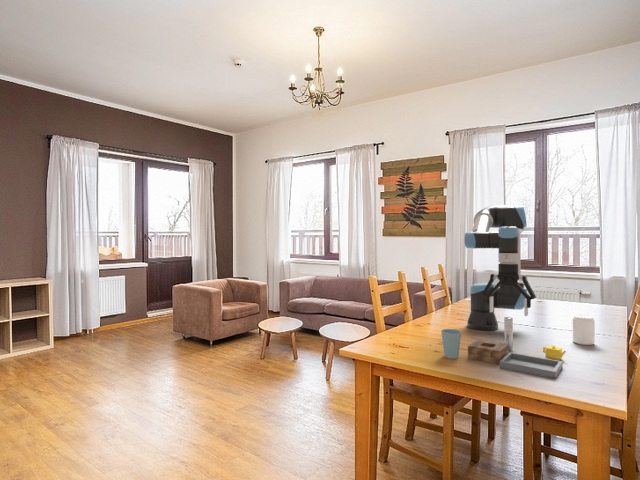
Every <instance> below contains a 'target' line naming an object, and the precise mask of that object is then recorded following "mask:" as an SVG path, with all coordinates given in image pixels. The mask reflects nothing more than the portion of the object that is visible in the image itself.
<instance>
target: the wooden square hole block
mask: <svg viewBox="0 0 640 480" xmlns="http://www.w3.org/2000/svg"><path fill="white" fill-rule="evenodd" d="M508 353H510V352H509V344H504V342H497V341H492V340H491V341H490V340H483V339H479V338H477V339H476V340H474V341H473V342H471V343H470V344H468V345H467V359H470V360H475V361H480V362H484V363H485V362H486V363H492V364H497V365H500V361H501V360H502V359H503V358H504V357H505V356H506V355H507V354H508Z"/></svg>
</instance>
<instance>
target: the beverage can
mask: <svg viewBox="0 0 640 480" xmlns="http://www.w3.org/2000/svg"><path fill="white" fill-rule="evenodd" d="M595 321H596V320H595V319H594V317H593V316H590V315H585V314H575V315H573V317H572V342H574V343H575V344H577V345H581V346H592V345H594V344H596V343H595V340H596V339H595V330H596V329H595V327H596V326H595Z"/></svg>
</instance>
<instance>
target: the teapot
mask: <svg viewBox="0 0 640 480" xmlns="http://www.w3.org/2000/svg"><path fill="white" fill-rule="evenodd" d="M566 352H567V351H566V350H564V351H563V348H562V347H558V346H555V345H548V346H543V347H542V353H544V354H545V358H546V359H552V360H558V361H561V359H563V356H564V354H566Z"/></svg>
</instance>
